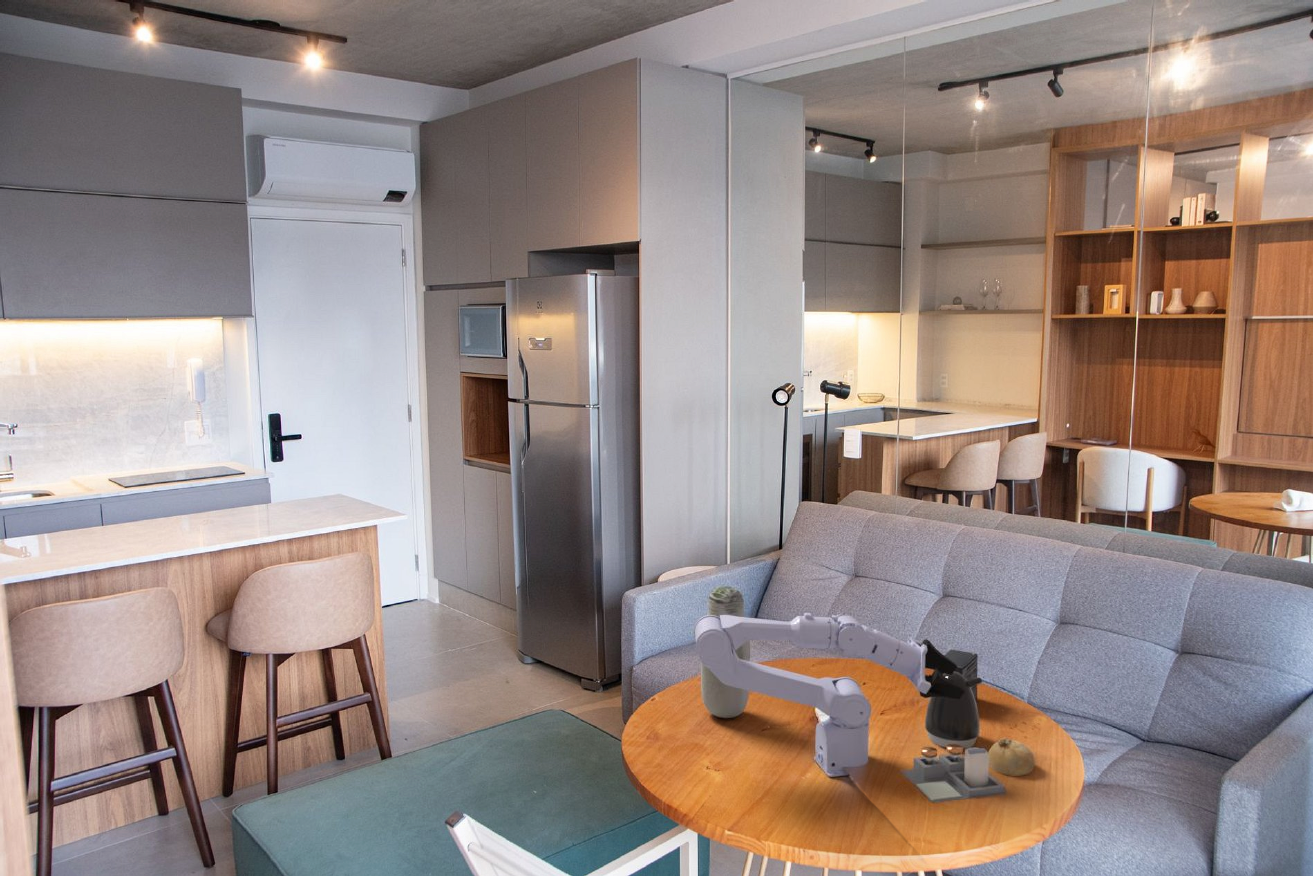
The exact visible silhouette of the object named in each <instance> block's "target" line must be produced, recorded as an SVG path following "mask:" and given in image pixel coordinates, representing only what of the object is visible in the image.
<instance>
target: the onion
mask: <svg viewBox="0 0 1313 876" xmlns="http://www.w3.org/2000/svg"><path fill="white" fill-rule="evenodd" d="M988 753H989V768H991V769H992V770H993V771H994V772H996V773H998V774H1002V775H1005V776H1012V777H1022V776H1027V775H1030V774H1031V773H1032V772H1033V770H1034V768H1035V764H1036V762H1035V761H1036V760H1035V756H1034V753H1033V752H1032V751H1031V749H1030V748H1029V747H1028V745H1027V746H1026V745H1025V744H1024V743H1022V742H1020V741H1018V740H1014V739H1011V738H1008V737H1006V736H1004V737H1003V738H999V739H998V741H996V742H995V743H994V744H992V745H991V748H989V750H988Z"/></svg>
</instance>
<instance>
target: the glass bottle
mask: <svg viewBox="0 0 1313 876" xmlns="http://www.w3.org/2000/svg"><path fill="white" fill-rule="evenodd" d="M707 602H708V603H707V613H706V615H715V616H718V617H719V618H720V615H731V616H738V617H745V609H744V607H745V602H744V597H743V595H742V593H741V592H740V591H739V589H736V588H735V587H731V586H726V585H725V586H718V587H715V588H713V589H712V590H711V591H710V593H709V596H708V600H707ZM732 647H733V649H734V645H732ZM734 651H735V652H736V654H737V656H738V658H739V659H741V660H745V661H749V662H751V640H747V641H746V642H745V643H744V644H743V645H741V646H740V647H739V648H738V649H737V650H735V649H734ZM700 693H701V699H702V703H703V705H704V707H705V708H706V710H707V711H708V712H709V713H710V714H711V715H713V716H715V717H718V718H721V719H722V718H723V719H732V718H736V717H738V716H739V715H741V714H742V713H743V712H744V711H745V709H746V707H747V705H748V701H749V697H750V691H748V690H744V689H740V688H736V687H732V686H728V685H725V684H723V683H722V682H721V681H720V680H719V679H718V678H717V677H716V676H715V675H714V674H713V673H712V672H711V671H710V670H709V669H708V668H707V667H706V666H704V665H702V663H701V662H700Z"/></svg>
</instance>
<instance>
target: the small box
mask: <svg viewBox="0 0 1313 876" xmlns="http://www.w3.org/2000/svg"><path fill="white" fill-rule="evenodd" d="M943 655H944V656H945V657H947V658H948V659H949V660H951V661H952V662H953V663H955V664H956V665H957V668H956V669H955V671H954V672H958V673H960V674H962V675H963V676H964V677H965V678H966V680H971V679H975V678H978V664H979V663H978V656H979V655H978V653H976V652H975V653H974V652H968V651H963V650H957V649H950V650H948V651H947V652H946V653H945V654H943ZM940 673H941V674H942V675H943V674H944V673H942V672H940ZM971 690H972V692H973V695H974V698H975V701H977V700H978V684H977V685H975V686H972V687H971Z"/></svg>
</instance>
